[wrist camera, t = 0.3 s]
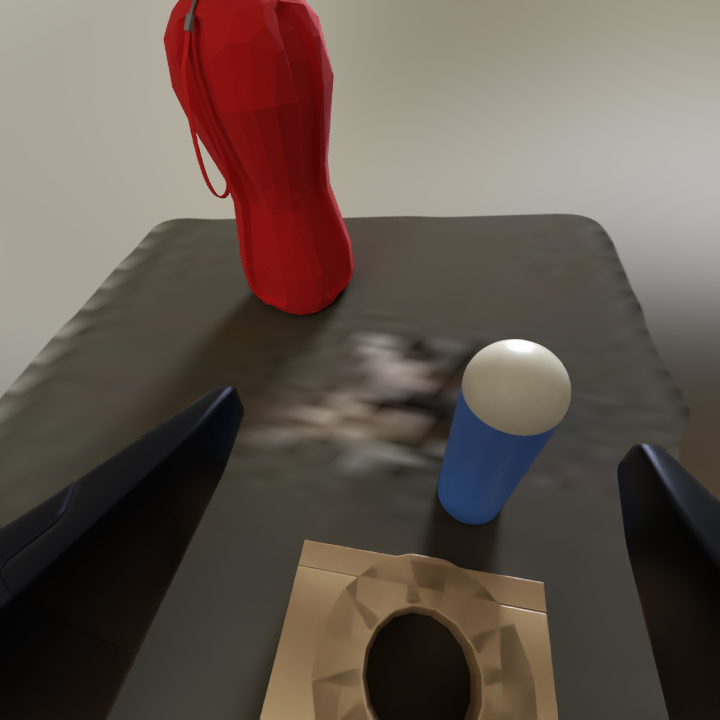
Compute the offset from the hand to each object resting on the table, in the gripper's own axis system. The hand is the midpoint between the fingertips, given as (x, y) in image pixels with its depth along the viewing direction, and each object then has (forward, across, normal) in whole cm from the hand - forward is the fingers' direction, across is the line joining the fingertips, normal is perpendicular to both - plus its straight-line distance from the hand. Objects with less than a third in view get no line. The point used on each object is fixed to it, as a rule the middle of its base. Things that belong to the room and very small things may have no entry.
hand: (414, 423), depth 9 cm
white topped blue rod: (+8, -4, +16) cm, 18 cm away
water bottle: (+25, +14, +13) cm, 31 cm away
